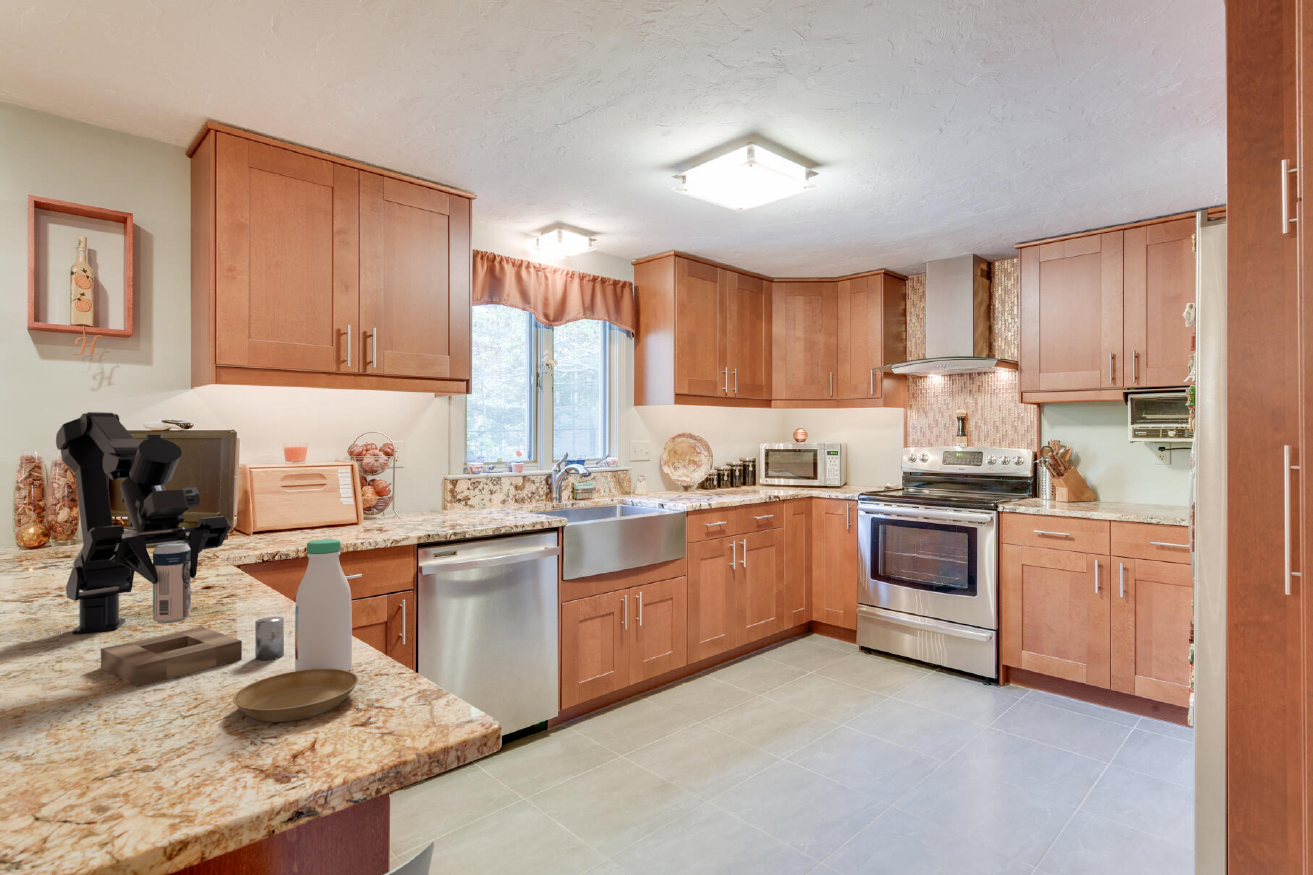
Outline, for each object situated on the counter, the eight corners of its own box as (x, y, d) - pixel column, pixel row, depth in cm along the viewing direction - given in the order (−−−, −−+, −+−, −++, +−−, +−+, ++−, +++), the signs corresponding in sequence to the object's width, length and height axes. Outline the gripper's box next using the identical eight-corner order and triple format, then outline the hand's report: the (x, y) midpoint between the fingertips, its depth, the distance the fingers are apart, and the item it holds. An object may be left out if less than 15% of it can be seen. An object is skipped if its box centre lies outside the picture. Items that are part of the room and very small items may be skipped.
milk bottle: (363, 666, 103) (363, 538, 103) (323, 684, 95) (323, 546, 95) (324, 661, 105) (324, 536, 105) (282, 677, 98) (282, 543, 98)
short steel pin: (256, 654, 108) (256, 618, 108) (284, 651, 110) (284, 615, 110) (254, 662, 105) (254, 624, 105) (283, 658, 107) (282, 621, 107)
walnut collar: (100, 667, 102) (100, 648, 102) (202, 644, 114) (202, 626, 114) (136, 686, 95) (136, 665, 95) (241, 659, 106) (241, 640, 106)
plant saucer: (211, 712, 86) (211, 692, 86) (322, 678, 98) (322, 660, 98) (267, 741, 78) (267, 719, 78) (380, 700, 90) (380, 681, 90)
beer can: (195, 619, 105) (195, 543, 105) (160, 626, 101) (160, 547, 101) (183, 614, 108) (183, 541, 108) (148, 621, 104) (148, 544, 104)
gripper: (88, 474, 99) (114, 555, 93) (226, 469, 114) (256, 538, 108) (71, 522, 103) (95, 603, 97) (206, 511, 119) (234, 580, 113)
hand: (175, 579), depth 104 cm, fingers closed on beer can, 5 cm apart
